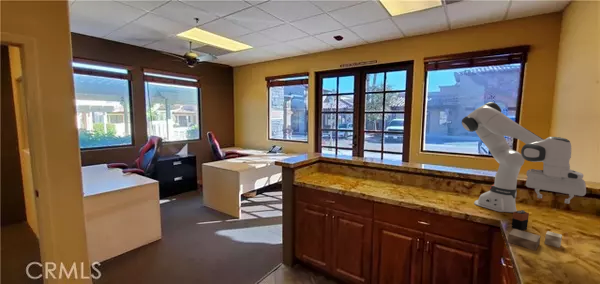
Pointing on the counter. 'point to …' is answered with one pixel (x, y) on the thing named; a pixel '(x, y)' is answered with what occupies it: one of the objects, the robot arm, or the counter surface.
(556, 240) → the maple cube
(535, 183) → the robot arm
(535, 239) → the walnut block
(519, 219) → the battery
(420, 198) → the counter surface
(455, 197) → the counter surface
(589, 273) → the counter surface
